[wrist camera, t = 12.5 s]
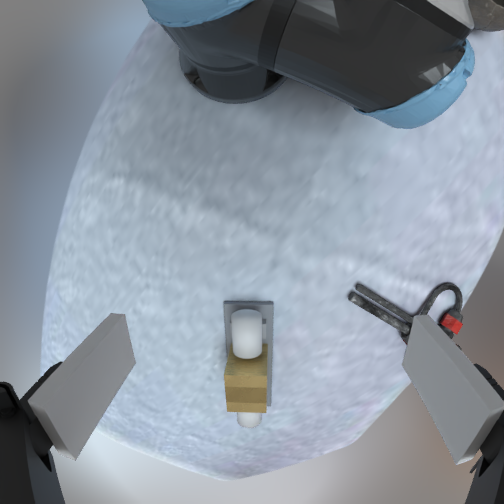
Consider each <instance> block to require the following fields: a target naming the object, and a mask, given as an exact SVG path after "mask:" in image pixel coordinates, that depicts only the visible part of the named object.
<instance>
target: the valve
mask: <svg viewBox="0 0 504 504" xmlns="http://www.w3.org/2000/svg"><path fill="white" fill-rule="evenodd" d="M449 289H450V290H453V291H454V292H455V294H456V295H457V301H458V302H457V307H456V310H453V309H451V310H450V311H449V312H448V313H445V314H444V316H443V317H442V319H441V321H440V322H439V323H441V324H442V326H440V325H439V327H440V328H441V329H442V330H443V331H444V332H445V333H446V334H447V336H448V337H449V338H450V339H452V338H453V336H454V335H453V333H455V334H458V332H459V330H460V328H461V327H462V325H463V324H462V323H461V322H462V318H463V316H462V315H461V314H460V311H461V308H462V294H461V291H460V289H459V288H458V287H457V286H456V285H454V284H450V283H448V284H443V285H441V286H440V287H438V288H437V289H436V290H435V291H434V292H433V294H432V295H431V297H430V299H429V301H428V302H427V304H426V306H425V307H424V309H423V311H422V312H421V314H420V315H427V313H428V311H429V310H430V308H431V306H432V305H433V303H434V301H435V299H436V298H437V296H438V295H439V294H440V293H441V292H443V291H445V290H449ZM356 290H357V291H359V292H361V293H362V294H364V295H365V296H367V297H369V298H370V299H372V300H374V301H375V302H377V303H379V304H380V305H382V306H383V307H385V308H387V309H388V310H390V311H392V312H393V313H395V314H396V315H398V316H400V317H401V318H403V319H404V320H406V321H408V323H407V324H404V323H403V322H401V321H400V320H398V319H396V318H395V317H393V316H391V315H390V314H388V313H387V312H385V311H383V310H382V309H380V308H378V307H377V306H375V305H373V304H372V303H370V302H369V301H367V300H365V299H364V298H362V297H360V296H359V295H357V294H355V293H354V292H352V293H351V294H350V296H349V298H348V299H349V301H351V302H353V303H354V304H356V305H358V306H359V307H361V308H363V309H364V310H366V311H368V312H369V313H371V314H373V315H375V316H376V317H378V318H380V319H381V320H383V321H385V322H386V323H388V324H390V325H391V326H393V327H395V328H396V329H398V330H400V331H401V337H402V339H403V341H404V342H405V343H406V345H407V344H408V340H409V336H410V332H411V328H412V324H413V319H414V318H413V317H411V316H410V315H408V314H407V313H405V312H403V311H402V310H400V309H399V308H397V307H395V306H394V305H392V304H391V303H389V302H388V301H386V300H384V299H383V298H381V297H380V296H378V295H376V294H375V293H373V292H372V291H370V290H368V289H367V288H365V287H363V286H362V285H360V284H358V285H357V287H356ZM456 345H457V344H456ZM457 347H458V348H459V349H460V350H461V348H460V346H459V345H457ZM461 351H462V350H461Z"/></svg>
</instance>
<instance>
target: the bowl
mask: <svg viewBox="0 0 504 504" xmlns="http://www.w3.org/2000/svg"><path fill="white" fill-rule="evenodd" d="M468 6H469V9H470V12H471V15H472V19H473V22H474V28H475V29H479V30H483V31H491V32H493V31H500V30H504V0H468Z"/></svg>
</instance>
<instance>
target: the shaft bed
mask: <svg viewBox="0 0 504 504" xmlns="http://www.w3.org/2000/svg"><path fill="white" fill-rule="evenodd" d="M224 317H225V334H226V349H227V360H228V355H229V351H230V346H231V343H233V353H234V354H235V355H236V356H237V357H239V358H244V359H251V358H255V357H257V356H259V355H260V354H261V352H262V344H268V365H267V406H271V386H272V349H273V302H239V301H225V302H224ZM261 420H262V413H247V412H237V422H238V424H239V425H240V426H242V427H245V428H254V427H256V426H258V425H259V424H260V423H261Z"/></svg>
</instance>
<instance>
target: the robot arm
mask: <svg viewBox="0 0 504 504" xmlns="http://www.w3.org/2000/svg"><path fill="white" fill-rule="evenodd" d="M142 1H143V2H144V4H145V5H146V7H147V9H148V13H149V15H150V16H151V18H152V19H154V20H155V22H156V21H158V23H159V24H160V25H161V26H162V27H163V29H164V30H165V31H166V32H167V33H168V35H169V36H170V37H171V38H172V39H173V41H174V42H175V43H176V44H177V45H178V47H179V48H180V50H179V60H180V65H181V68H182V71H183V73H184V75H185V77H186V78H187V80H188V81H189V82H190V83H191V85H192V86H193V87H194V88H195V89H196V90H198V91H199V92H200V93H201V94H203V95H204V96H206V97H208V98H210V99H213V100H216V101H219V102H224V103H233V104H236V103H247V102H252V101H255V100H258V99H261V98H263V97H265V96H267V95H269V94H271V93H272V92H274V91H275V90H276V89H277V88H278V87H280V86H281V85H282V83H283V82H284V81H285V80H286V78H287V77H289V78H291V79H294V80H296V81H299V82H301V83H303V84H306V85H308V86H310V87H313V88H315V89H317V90H319V91H321V92H324V93H326V94H328V95H330V96H332V97H334V98H336V99H338V100H340V101H342V102H344V103H346V104H348V105H350V106H352V107H354V109H355V110H356V111H357V112H359V113H361V114H364V115H368V116H372V117H374V118H376V119H378V120H380V121H382V122H384V123H385V124H387V125H389V126H392V127H394V128H403V129H412V128H416V127H419V126H422V125H425V124H427V123H429V122H431V121H432V120H434V119H435V118H437V117H438V116H440V115H441V114H442V113H443V112H445V111H446V110H447V109H448V108H449V107H450V106H451V105H452V104H453V103H454V102H455V101H456V100H457V99H458V97H459V96H460V95H461V93H462V92H463V90H464V89H465V87H466V85H467V82H466V79H467V78H468V77H469V76H471V75H472V72H473V69H474V65H475V57H474V51H473V48H472V47H471V45H470V43H469V41H468V40H467V39H466V38H467V36H468V35H469V33H470V32H471V31H472V29H473V28H474V22H473V19H472V15H471V12H470V9H469V6H468V0H142ZM135 364H136V361H135V357H134V353H133V349H132V345H131V340H130V336H129V331H128V327H127V322H126V317H125V314H115V313H111V314H110V315H109V316H108V317H107V318H106V319H105V320H104V321H103V322H102V323H101V324H100V325H99V326H98V327H97V328H96V329H95V330H94V331H93V332H92V333H91V334H90V335H89V336H88V337H87V338H86V339H85V340H84V341H83V342H82V343H81V344H80V345H79V346H78V347H77V348H76V349H75V350H74V351H73V352H72V353H71V354H70V355H69V356H68V357H67V358H66V360H65V361H64V362H59V363H57V364H55V365H53V366H52V367H50V368H49V369H48V370H47V371H46V372H45V373H44V376H42V377H41V378H40V379H39V380H38V382H36V383H35V384H34V385H33V386H32V387H31V388H30V389H29V390H28V392H27V393H26V394H25V395H24V396H23V397H22V398H21V399H20V400H19V399H18V397H17V395H16V393H15V391H14V389H13V387H12V386H11V384H9V383H7V382H0V504H65V501H64V498H63V495H62V491H61V488H60V484H59V481H58V477H57V473H56V469H55V464H54V460H53V456H52V454H51V452H50V448H51V447H52V445H54V446H55V448H56V449H57V451H58V453H59V454H60V455H62V456H65V457H67V458H70V459H72V460H75V461H76V459H77V457H78V456H79V454H80V452H81V451H82V449H83V447H84V446H85V444H86V442H87V440H88V439H89V437H90V435H91V434H92V432H93V431H94V429H95V427H96V426H97V424H98V423H99V421H100V419H101V418H102V416H103V414H104V413H105V411H106V410H107V408H108V406H109V405H110V403H111V401H112V400H113V398H114V397H115V395H116V394H117V392H118V390H119V389H120V387H121V386H122V384H123V382H124V381H125V379H126V378H127V376H128V375H129V373H130V371H131V370H132V368H133V367H134V365H135ZM402 366H403V368H404V369H405V371H406V373H407V374H408V376H409V378H410V380H411V381H412V383H413V385H414V386H415V388H416V390H417V392H418V394H419V395H420V397H421V399H422V401H423V402H424V404H425V406H426V408H427V410H428V412H429V413H430V415H431V417H432V419H433V421H434V423H435V425H436V427H437V428H438V430H439V432H440V434H441V436H442V438H443V440H444V442H445V444H446V446H447V448H448V450H449V452H450V454H451V456H452V458H453V460H454V462H455V464H456V465H458V464H460V463H463V462H466V461H468V460H471V459H472V458H473V457H474V455H475V454H476V453H477V451H478V450H479V448H480V450H481V452H482V456H481V457H480V459H479V460H478V461H477V462H476V464H475V465H474V466H473V468H472V469H471V471H470V473H472V472H473V471H474V470H475V469H476V468H477V469H476V472H475V475H474V478H473V482H472V485H471V488H470V491H469V494H468V497H467V499H466V502H465V504H504V390H503V389H502V388H501V387H500V385H497V382H496V381H495V379H492V376H491V375H490V374H489V373H488V371H487V370H486V369H484V368H483V367H481V366H480V365H478V364H472V362H471V361H470V360H469V359H468V358H467V357H466V355H465V354H464V353H463V352H462V351H461V350H460V349H459V348H458V347H457V345H456V344H455V343H454V342H453V341H452V340H451V339H450V338H449V337H448V336H447V334H446V333H445V332H444V331H443V330H442V329H441V328H440V327H439V326H438V325H437V324H436V323H435V322H434V321H433V319H432V318H431V317H430V316H429V315H417V316H414V319H413V324H412V328H411V332H410V336H409V340H408V344H407V348H406V352H405V356H404V359H403V363H402Z"/></svg>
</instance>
